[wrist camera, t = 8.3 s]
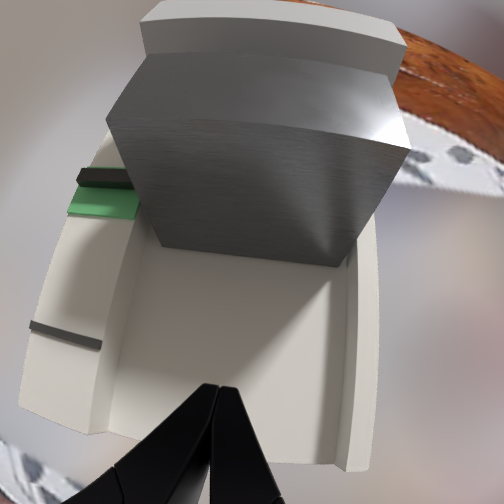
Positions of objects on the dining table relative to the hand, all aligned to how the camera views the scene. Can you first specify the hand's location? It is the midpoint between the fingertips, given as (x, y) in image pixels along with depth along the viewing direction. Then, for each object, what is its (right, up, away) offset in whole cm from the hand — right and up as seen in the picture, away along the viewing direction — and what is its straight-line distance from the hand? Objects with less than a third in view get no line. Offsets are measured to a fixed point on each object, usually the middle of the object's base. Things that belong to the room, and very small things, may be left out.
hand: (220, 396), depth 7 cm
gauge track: (-1, +3, +10) cm, 10 cm away
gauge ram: (-1, +5, +10) cm, 11 cm away
